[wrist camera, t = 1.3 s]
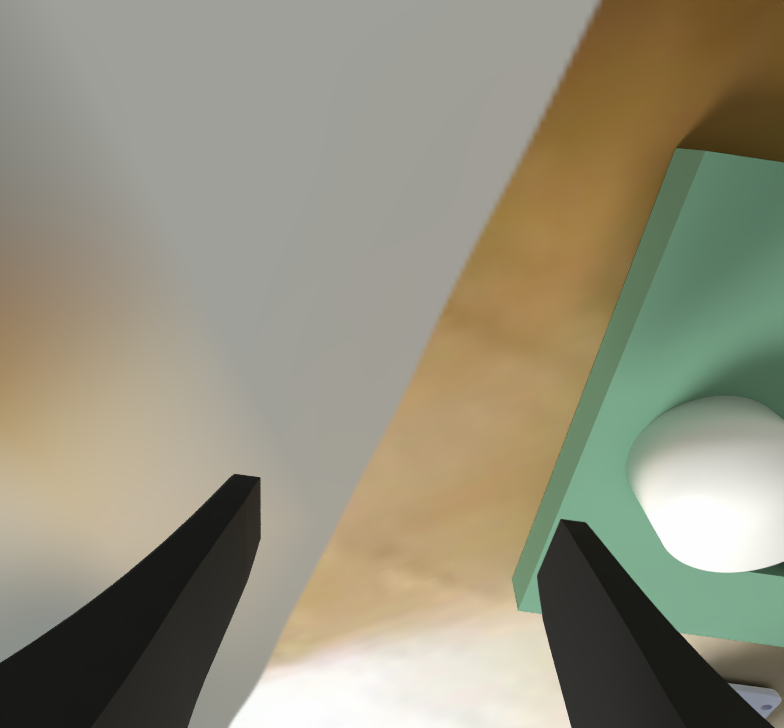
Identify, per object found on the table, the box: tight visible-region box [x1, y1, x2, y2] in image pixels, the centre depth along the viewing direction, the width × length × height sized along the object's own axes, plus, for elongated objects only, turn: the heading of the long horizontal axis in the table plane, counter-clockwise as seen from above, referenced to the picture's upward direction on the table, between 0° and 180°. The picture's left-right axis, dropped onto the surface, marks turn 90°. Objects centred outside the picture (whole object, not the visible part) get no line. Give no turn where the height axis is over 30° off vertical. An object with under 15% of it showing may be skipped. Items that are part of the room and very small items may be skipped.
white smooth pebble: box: [626, 395, 784, 573], centre depth 15 cm, size 5×5×2 cm
